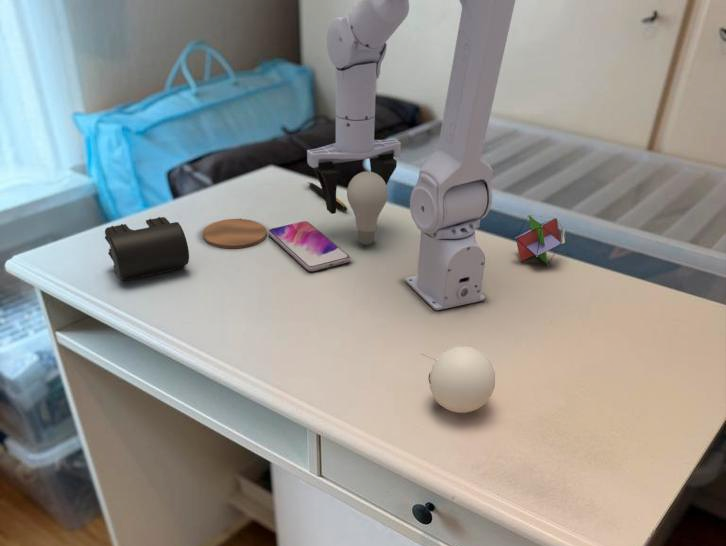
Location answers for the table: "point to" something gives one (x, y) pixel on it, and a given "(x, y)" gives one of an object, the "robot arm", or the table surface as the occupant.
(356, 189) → the lightbulb
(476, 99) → the robot arm
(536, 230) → the geometric puzzle
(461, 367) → the white ball
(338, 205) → the fountain pen
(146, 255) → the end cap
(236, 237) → the copper coaster
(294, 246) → the smartphone
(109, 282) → the table surface
